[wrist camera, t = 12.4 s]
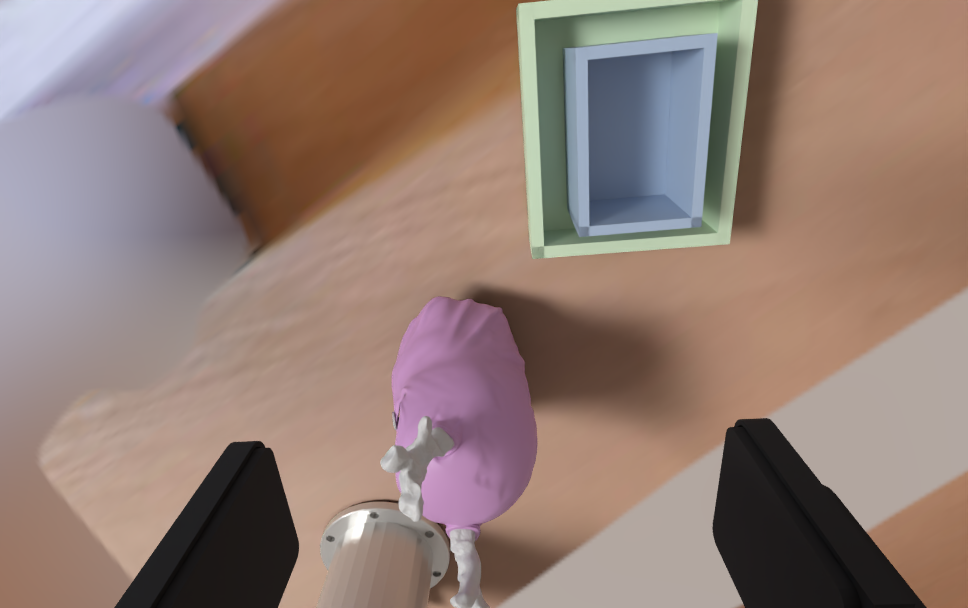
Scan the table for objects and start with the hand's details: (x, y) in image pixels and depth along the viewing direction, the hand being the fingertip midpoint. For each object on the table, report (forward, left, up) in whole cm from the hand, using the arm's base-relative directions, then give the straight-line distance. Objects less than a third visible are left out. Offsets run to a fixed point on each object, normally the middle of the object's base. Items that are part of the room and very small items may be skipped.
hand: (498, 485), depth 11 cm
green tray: (+3, -8, -28) cm, 30 cm away
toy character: (-13, +4, -29) cm, 32 cm away
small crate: (+3, -8, -28) cm, 29 cm away
